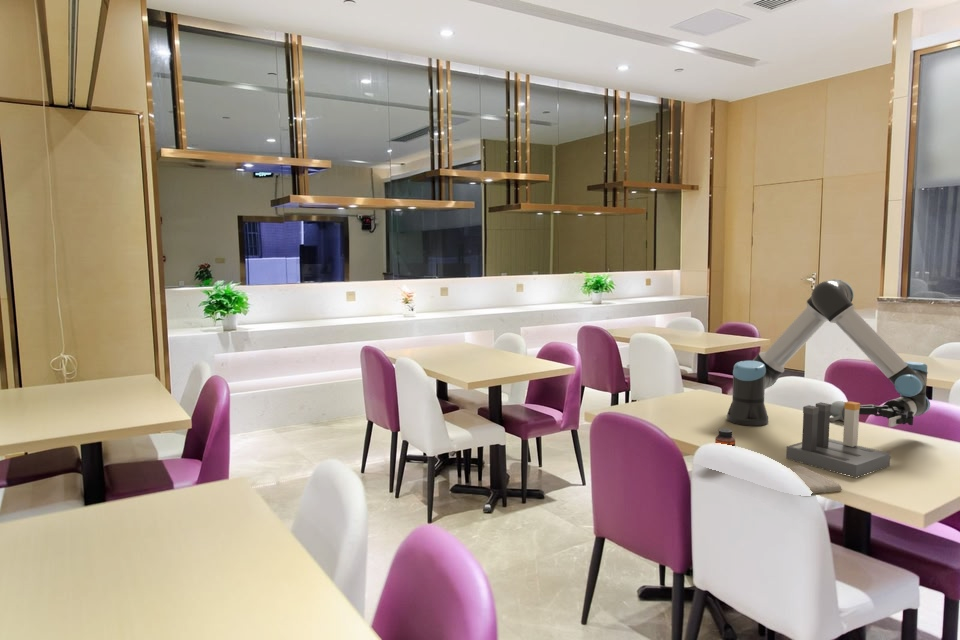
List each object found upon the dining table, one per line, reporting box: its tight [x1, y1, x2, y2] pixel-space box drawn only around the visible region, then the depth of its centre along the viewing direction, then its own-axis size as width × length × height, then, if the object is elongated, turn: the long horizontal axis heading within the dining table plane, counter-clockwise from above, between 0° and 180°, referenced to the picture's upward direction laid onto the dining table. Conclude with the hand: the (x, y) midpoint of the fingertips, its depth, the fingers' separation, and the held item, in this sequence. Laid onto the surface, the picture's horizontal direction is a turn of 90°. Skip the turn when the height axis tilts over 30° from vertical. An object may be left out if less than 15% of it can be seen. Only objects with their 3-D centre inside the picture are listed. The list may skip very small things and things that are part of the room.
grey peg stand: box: [785, 401, 891, 478], centre depth 201 cm, size 22×20×18 cm
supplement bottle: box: [714, 428, 736, 447], centre depth 200 cm, size 6×6×11 cm
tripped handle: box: [842, 400, 861, 447], centre depth 205 cm, size 3×3×14 cm
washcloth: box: [787, 465, 843, 495], centre depth 185 cm, size 12×18×3 cm, turn 13°
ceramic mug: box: [830, 400, 846, 422], centre depth 251 cm, size 11×8×8 cm
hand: (867, 418), depth 210 cm, fingers open, 13 cm apart
